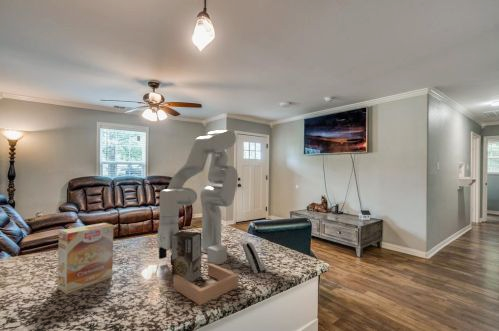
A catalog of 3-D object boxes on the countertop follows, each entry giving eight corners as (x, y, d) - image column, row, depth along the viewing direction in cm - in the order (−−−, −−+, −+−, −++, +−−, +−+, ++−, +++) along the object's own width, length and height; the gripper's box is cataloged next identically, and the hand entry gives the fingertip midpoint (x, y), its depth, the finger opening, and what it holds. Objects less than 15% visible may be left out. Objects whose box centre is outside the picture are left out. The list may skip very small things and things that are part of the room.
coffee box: (201, 275, 93) (202, 232, 94) (192, 282, 87) (193, 236, 88) (181, 271, 96) (181, 230, 97) (170, 278, 90) (171, 234, 90)
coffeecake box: (66, 294, 78) (67, 233, 78) (56, 288, 82) (57, 230, 82) (113, 277, 91) (114, 224, 91) (103, 272, 95) (104, 222, 95)
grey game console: (267, 272, 96) (259, 248, 96) (256, 277, 95) (248, 253, 95) (257, 257, 113) (250, 237, 112) (247, 261, 112) (240, 241, 111)
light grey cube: (216, 265, 103) (216, 250, 104) (207, 261, 107) (207, 247, 108) (226, 261, 108) (226, 247, 108) (217, 257, 112) (217, 244, 112)
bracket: (173, 288, 83) (173, 276, 83) (211, 273, 95) (211, 263, 95) (199, 305, 73) (200, 291, 73) (238, 286, 84) (238, 274, 84)
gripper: (150, 217, 104) (150, 258, 104) (171, 224, 92) (170, 269, 92) (167, 215, 110) (166, 253, 110) (188, 221, 98) (188, 264, 98)
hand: (168, 261), depth 101 cm, fingers open, 9 cm apart
